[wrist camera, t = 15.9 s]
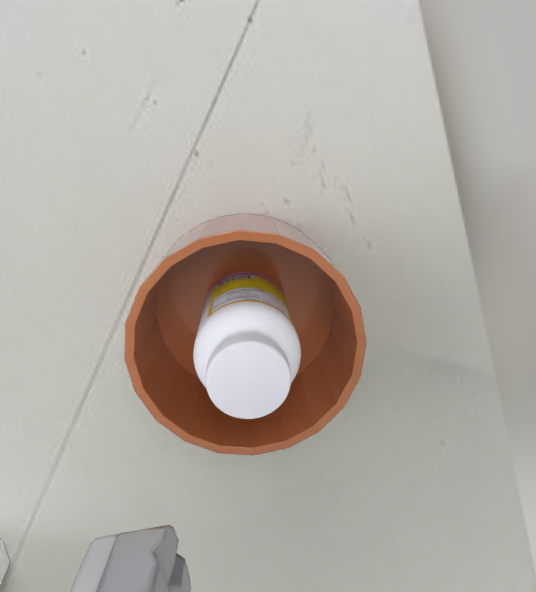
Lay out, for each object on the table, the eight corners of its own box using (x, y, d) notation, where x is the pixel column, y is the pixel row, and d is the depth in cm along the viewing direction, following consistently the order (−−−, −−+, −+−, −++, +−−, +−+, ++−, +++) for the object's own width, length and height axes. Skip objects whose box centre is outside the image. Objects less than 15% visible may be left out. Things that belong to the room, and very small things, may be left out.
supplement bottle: (259, 362, 40) (266, 455, 27) (188, 323, 38) (163, 402, 26) (303, 296, 38) (332, 363, 26) (232, 252, 37) (226, 302, 25)
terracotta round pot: (320, 194, 37) (344, 207, 28) (351, 371, 41) (380, 428, 33) (127, 236, 37) (92, 261, 28) (178, 408, 41) (161, 474, 33)
